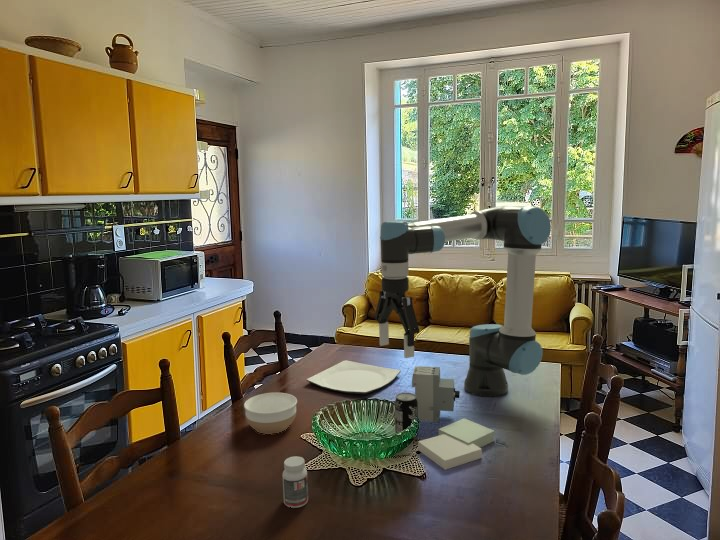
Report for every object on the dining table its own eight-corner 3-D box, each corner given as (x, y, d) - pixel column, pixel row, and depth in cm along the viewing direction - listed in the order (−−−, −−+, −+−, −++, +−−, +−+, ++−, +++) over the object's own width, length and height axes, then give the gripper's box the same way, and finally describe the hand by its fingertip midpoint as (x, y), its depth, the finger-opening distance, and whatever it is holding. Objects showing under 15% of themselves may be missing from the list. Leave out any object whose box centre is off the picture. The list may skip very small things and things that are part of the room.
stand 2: (453, 439, 150) (453, 431, 150) (481, 457, 139) (481, 448, 139) (418, 450, 144) (418, 441, 144) (445, 469, 134) (445, 460, 133)
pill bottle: (312, 503, 121) (311, 462, 119) (290, 512, 118) (288, 470, 116) (301, 491, 125) (299, 452, 124) (279, 499, 122) (277, 459, 121)
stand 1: (464, 427, 157) (464, 418, 157) (494, 440, 149) (494, 430, 148) (438, 439, 150) (438, 429, 150) (468, 453, 142) (468, 442, 141)
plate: (405, 376, 203) (405, 369, 203) (367, 401, 179) (366, 394, 179) (344, 364, 218) (344, 358, 218) (301, 386, 195) (301, 380, 194)
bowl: (234, 428, 161) (233, 403, 160) (276, 411, 172) (275, 388, 171) (266, 444, 150) (265, 417, 149) (309, 425, 161) (308, 400, 160)
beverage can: (420, 432, 155) (419, 393, 153) (414, 442, 149) (414, 401, 147) (398, 429, 157) (397, 390, 156) (392, 439, 151) (391, 399, 149)
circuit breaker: (459, 423, 160) (459, 376, 158) (412, 420, 163) (411, 374, 161) (459, 413, 168) (459, 367, 165) (414, 410, 170) (414, 366, 168)
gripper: (362, 272, 156) (364, 342, 159) (407, 284, 134) (408, 365, 137) (384, 270, 159) (385, 338, 162) (432, 281, 137) (432, 360, 140)
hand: (396, 350), depth 149 cm, fingers open, 13 cm apart
